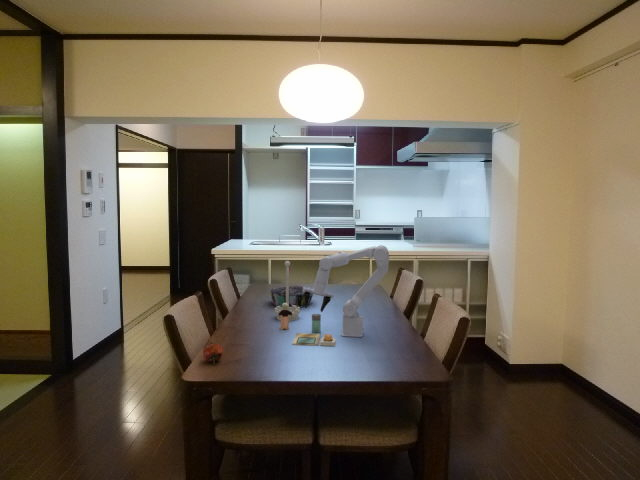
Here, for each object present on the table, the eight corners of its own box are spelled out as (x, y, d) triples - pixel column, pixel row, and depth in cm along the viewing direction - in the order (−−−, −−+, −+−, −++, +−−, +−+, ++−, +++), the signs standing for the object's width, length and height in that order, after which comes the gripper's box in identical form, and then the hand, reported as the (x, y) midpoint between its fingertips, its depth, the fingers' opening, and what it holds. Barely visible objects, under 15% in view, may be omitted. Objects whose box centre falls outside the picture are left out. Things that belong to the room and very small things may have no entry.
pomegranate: (225, 368, 163) (224, 346, 170) (222, 358, 157) (221, 335, 165) (204, 371, 161) (204, 349, 168) (201, 361, 156) (201, 338, 163)
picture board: (320, 335, 196) (320, 333, 196) (318, 345, 182) (318, 343, 182) (296, 334, 197) (296, 332, 197) (292, 344, 183) (292, 342, 183)
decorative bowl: (320, 310, 248) (321, 293, 247) (274, 310, 237) (275, 293, 237) (305, 300, 271) (306, 285, 271) (262, 300, 261) (264, 284, 261)
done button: (332, 339, 186) (332, 334, 186) (331, 342, 183) (331, 336, 183) (324, 339, 186) (324, 334, 186) (324, 341, 183) (324, 336, 183)
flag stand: (296, 322, 217) (296, 263, 214) (271, 320, 219) (271, 262, 216) (302, 315, 229) (302, 259, 227) (279, 314, 232) (278, 258, 229)
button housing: (335, 341, 188) (335, 337, 188) (334, 346, 182) (335, 342, 181) (321, 341, 188) (321, 337, 188) (320, 345, 182) (320, 342, 182)
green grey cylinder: (320, 330, 203) (321, 314, 202) (320, 333, 199) (320, 316, 198) (312, 330, 203) (312, 313, 203) (311, 333, 199) (311, 316, 199)
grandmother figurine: (278, 330, 202) (278, 304, 201) (276, 328, 206) (276, 302, 205) (294, 329, 205) (294, 303, 203) (292, 327, 208) (292, 301, 207)
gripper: (334, 282, 204) (326, 309, 205) (305, 276, 201) (297, 303, 203) (337, 287, 197) (329, 314, 199) (306, 280, 194) (299, 308, 196)
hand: (313, 309), depth 200 cm, fingers open, 7 cm apart
